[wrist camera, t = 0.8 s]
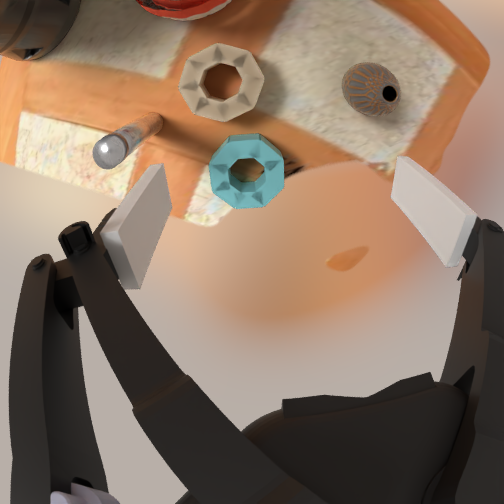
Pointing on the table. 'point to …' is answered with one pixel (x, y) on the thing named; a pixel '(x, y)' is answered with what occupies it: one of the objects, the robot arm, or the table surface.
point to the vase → (371, 89)
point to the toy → (183, 8)
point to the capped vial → (126, 140)
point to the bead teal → (247, 192)
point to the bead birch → (213, 106)
